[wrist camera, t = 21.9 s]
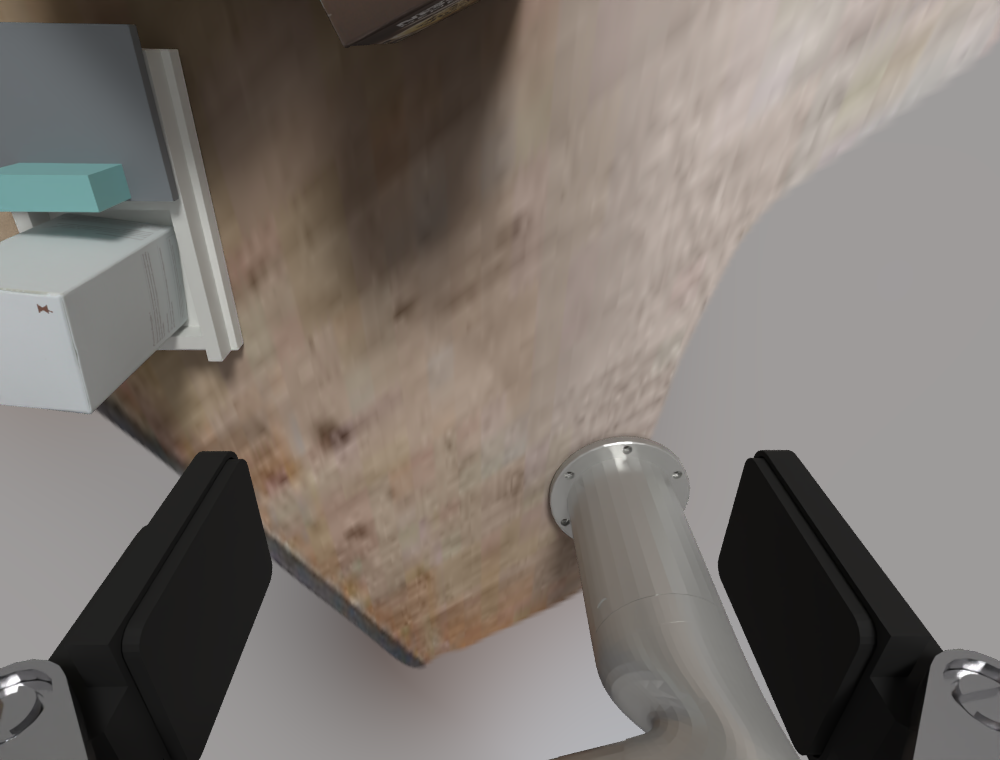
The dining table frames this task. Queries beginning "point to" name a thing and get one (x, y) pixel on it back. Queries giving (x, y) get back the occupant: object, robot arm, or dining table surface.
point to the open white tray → (181, 219)
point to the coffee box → (386, 18)
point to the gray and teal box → (78, 120)
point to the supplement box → (84, 308)
